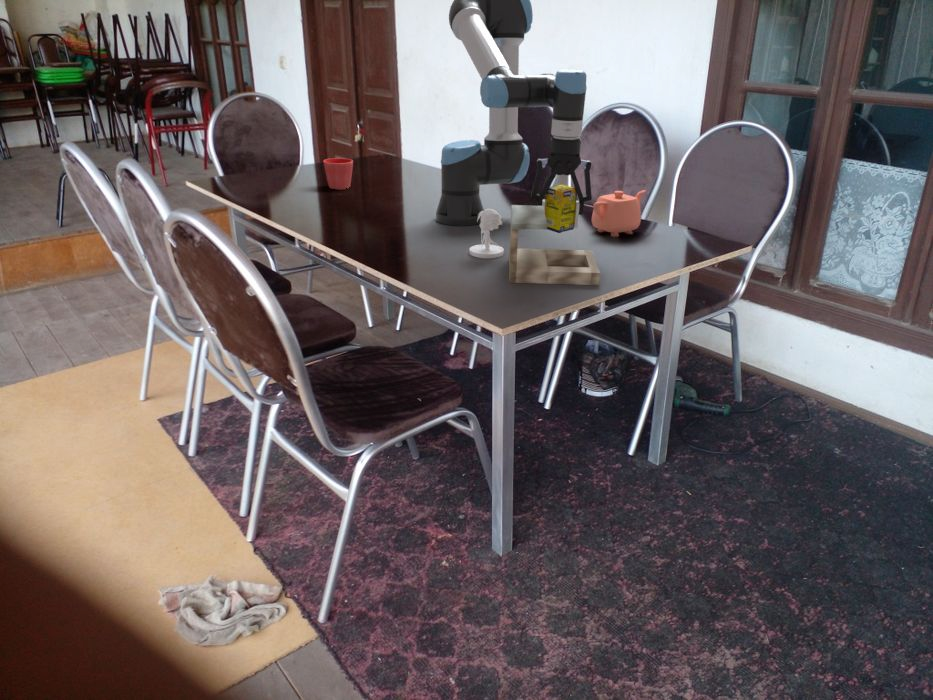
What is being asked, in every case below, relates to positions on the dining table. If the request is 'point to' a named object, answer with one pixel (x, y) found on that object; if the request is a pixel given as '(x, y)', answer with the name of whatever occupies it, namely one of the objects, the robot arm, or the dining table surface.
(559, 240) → the dining table surface
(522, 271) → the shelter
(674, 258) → the dining table surface
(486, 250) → the figurine
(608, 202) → the teapot
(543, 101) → the robot arm
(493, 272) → the dining table surface
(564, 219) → the supplement box
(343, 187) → the flower pot
